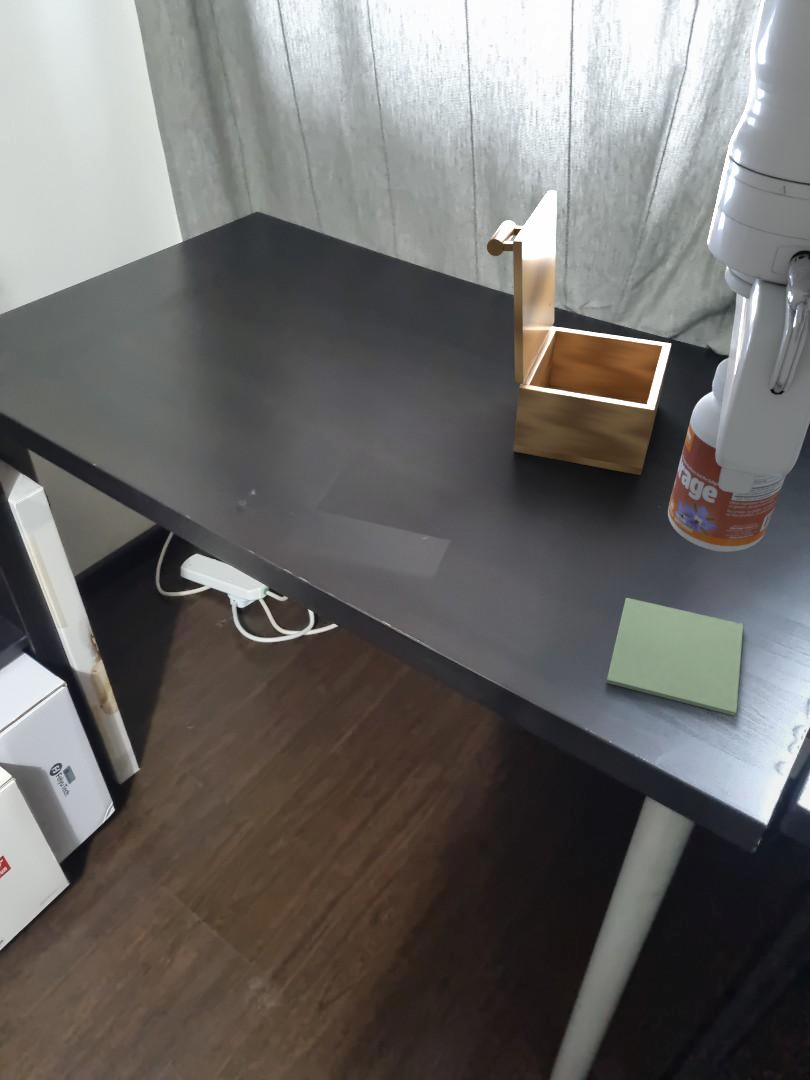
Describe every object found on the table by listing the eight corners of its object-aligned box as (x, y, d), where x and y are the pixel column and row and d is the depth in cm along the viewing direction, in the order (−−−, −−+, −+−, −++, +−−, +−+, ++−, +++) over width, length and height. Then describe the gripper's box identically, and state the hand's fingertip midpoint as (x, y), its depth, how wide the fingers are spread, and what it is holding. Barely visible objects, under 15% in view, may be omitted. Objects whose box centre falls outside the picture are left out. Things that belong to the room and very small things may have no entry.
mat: (742, 627, 64) (743, 624, 64) (735, 716, 58) (736, 712, 58) (625, 600, 67) (625, 597, 66) (606, 682, 60) (606, 679, 60)
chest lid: (556, 190, 79) (511, 190, 81) (522, 241, 69) (471, 240, 71) (554, 322, 87) (513, 319, 89) (523, 383, 78) (478, 380, 79)
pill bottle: (651, 501, 56) (684, 352, 49) (736, 491, 57) (782, 343, 49) (690, 561, 51) (733, 406, 44) (782, 549, 52) (840, 395, 45)
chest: (658, 405, 89) (671, 343, 84) (640, 475, 80) (654, 410, 75) (543, 386, 93) (550, 325, 88) (513, 451, 83) (518, 387, 78)
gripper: (890, 317, 33) (790, 571, 42) (864, 167, 48) (794, 379, 56) (725, 296, 35) (663, 544, 44) (749, 157, 49) (698, 365, 58)
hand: (737, 450), depth 50 cm, fingers closed on pill bottle, 6 cm apart
